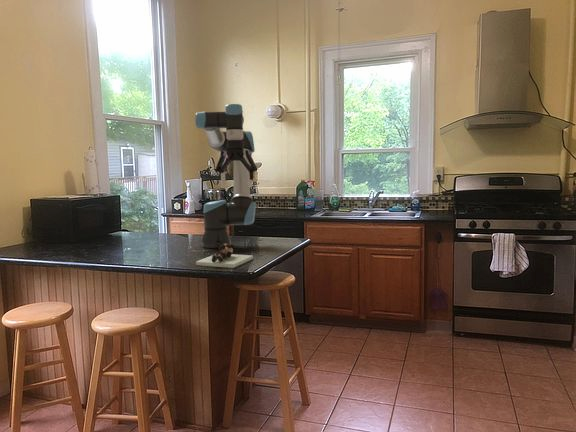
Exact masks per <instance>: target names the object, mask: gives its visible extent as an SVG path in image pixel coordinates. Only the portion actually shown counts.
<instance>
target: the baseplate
mask: <svg viewBox="0 0 576 432" xmlns="http://www.w3.org/2000/svg"><path fill="white" fill-rule="evenodd" d="M213 255H216V253H214V254H213ZM213 255H210V256H207V257H204V258H202V259H200V260H196V261H195V265H196V266H200V267H201V266H203V267H214V268H215V267H217V268H218V267H219V268H230V269H234V268H237V267H239V266H241V265H243V264H245V263H247V262H250V261H251V260H253V259H254V255H251V254H250V255H248V254H234V253H232V255H231V257H227V256H226V259H223V261H222V262H220V261H219V260H218V259H217V261H216V262H214V263H213V262H212V256H213Z"/></svg>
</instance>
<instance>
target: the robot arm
mask: <svg viewBox="0 0 576 432" xmlns="http://www.w3.org/2000/svg"><path fill="white" fill-rule="evenodd" d="M224 109H225V111H197V112H196V113H195V118H194V121H195V122H194V123H195V127H196V129H202V130H203V131H204V133H205V135H206V142H207V144H208V145H209V146H210V147H211V148H212V149H214V150H215V151H217V152H220V157H219V160H218V162H217V164H216V167H215V169H214V171H215V172H217V173H218V175H219V178H218V179H219V180H220V186H221V188H227V186H226V185H227V183H226V172H225V171H226V169H227V168H228V166H229V165H230V163H231V162H233V197H231V198H230V202H227V201H226V199H221V200H219V199H218V200H214V201H209V202H206V203H204V205H203V211H202V212H203V220H204V221H203V222H204V223H203V225H204V227H203V228H204V230H203V231H204V233H203V236H202V239H201V247H202V248H206V249H219V246H221V245H223V244H228V245H230V246H232V240H231V237H230V235H229V232H228V226H247V225H253V224H254V222H255V217H256V207H257V205H256V202H255V201H254V199H253V198H252V196H251V188H253V181H254V179H255V178H254V177H255V176H254V173H255V172H257V171H258V168H257V165H256V163H255V161H254V159H253V157H252V156H253V153H255V149H256V148H255V143H254V142H255V141H254V136H253V133H252V131H249V130H244V123H245V118H244V115H243V113H244V111H243V106H242V104H240V103H230V104H226V105H225V108H224ZM221 129H225V131H221ZM226 156H227V157H226ZM228 245H227V246H228Z"/></svg>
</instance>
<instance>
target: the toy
mask: <svg viewBox="0 0 576 432" xmlns="http://www.w3.org/2000/svg"><path fill="white" fill-rule="evenodd" d="M227 245H228V244H223V245H221V246H219V248H218V250H219V251H218V252H216V253H215V254H216V255H215V254H213V256H212V255H211V256H212V262H213V263H214V262H216V261H217V259H218V260H219V261H220V262H222V261H223V259H226V256H227V257H231V255H232V254H233V252H234V248H232V245H228V246H227Z"/></svg>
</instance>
